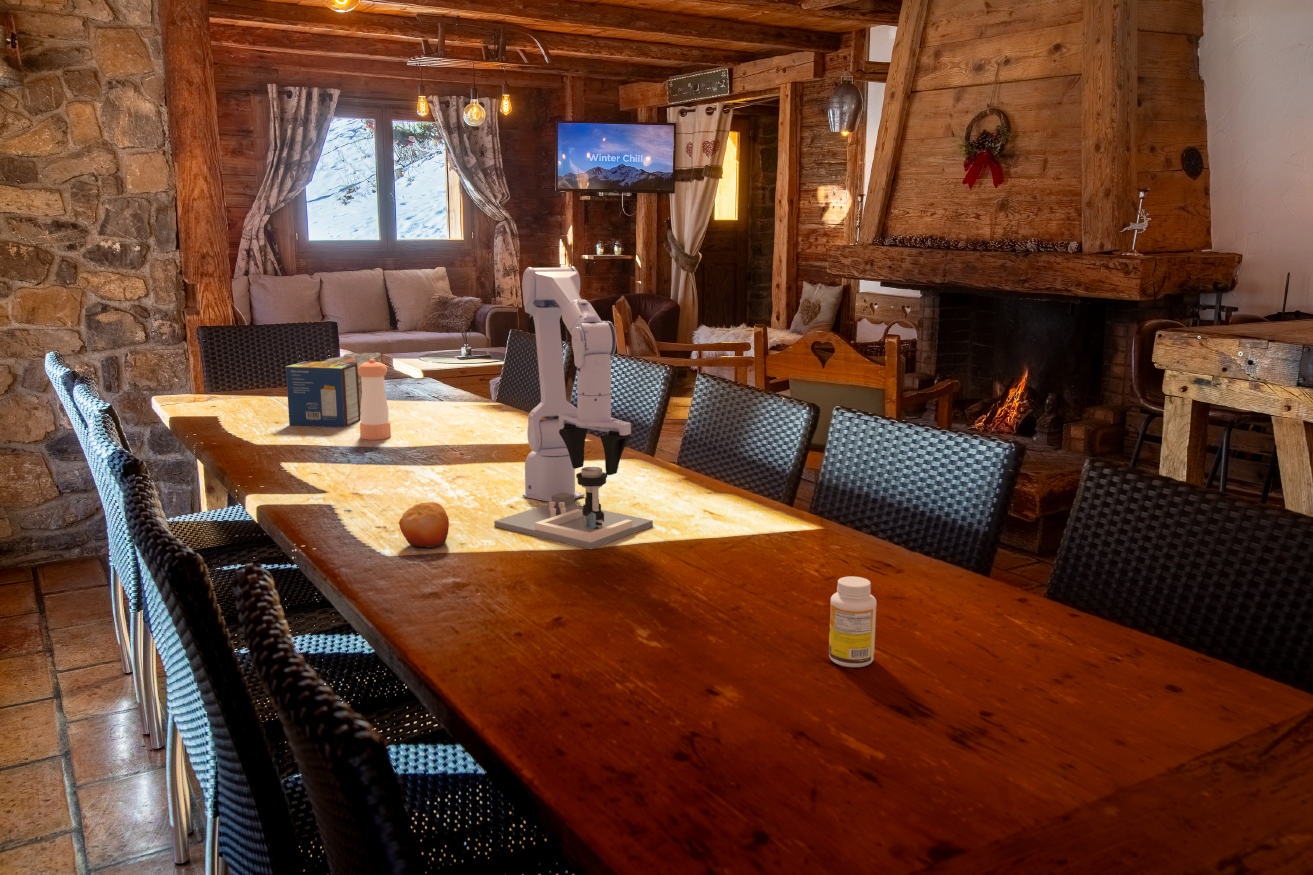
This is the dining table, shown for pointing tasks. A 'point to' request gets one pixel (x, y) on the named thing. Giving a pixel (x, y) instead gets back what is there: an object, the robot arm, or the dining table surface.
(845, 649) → the supplement bottle
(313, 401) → the protein box
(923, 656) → the dining table surface
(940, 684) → the dining table surface
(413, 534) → the fruit
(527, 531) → the mat
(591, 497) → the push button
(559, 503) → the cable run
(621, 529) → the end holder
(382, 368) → the salt shaker
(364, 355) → the petrified wood
